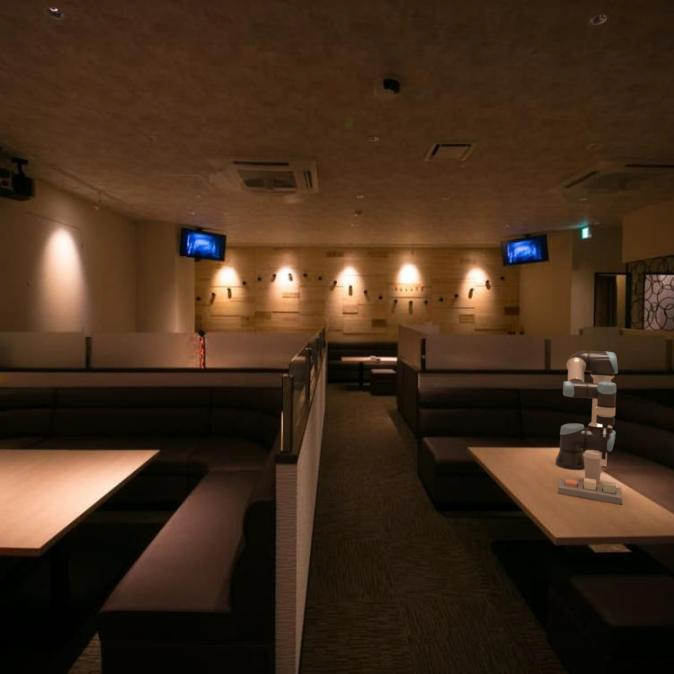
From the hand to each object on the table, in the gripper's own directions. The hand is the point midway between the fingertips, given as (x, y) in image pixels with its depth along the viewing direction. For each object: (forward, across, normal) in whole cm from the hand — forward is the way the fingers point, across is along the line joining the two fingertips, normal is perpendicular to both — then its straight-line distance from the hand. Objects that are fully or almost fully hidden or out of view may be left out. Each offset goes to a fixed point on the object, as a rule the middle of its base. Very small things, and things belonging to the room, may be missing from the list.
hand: (603, 465), depth 225 cm
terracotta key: (+14, 0, -13) cm, 19 cm away
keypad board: (+15, 0, -5) cm, 16 cm away
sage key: (+12, -1, +3) cm, 12 cm away
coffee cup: (+15, -20, -5) cm, 26 cm away
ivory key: (+12, 0, -5) cm, 13 cm away
